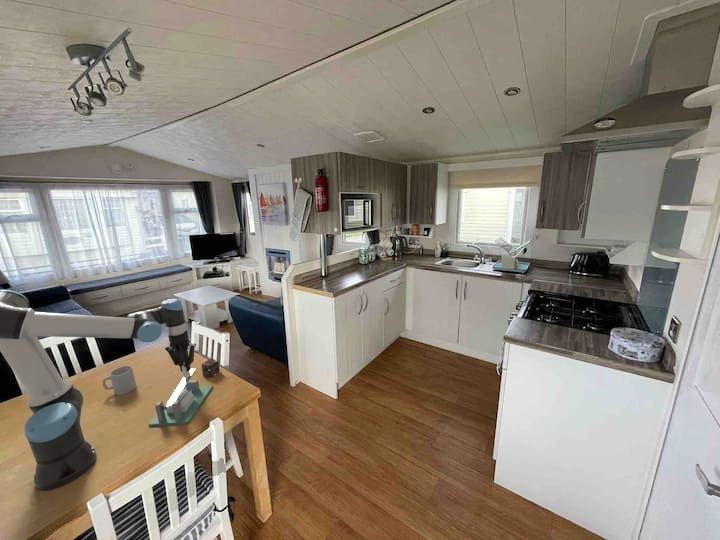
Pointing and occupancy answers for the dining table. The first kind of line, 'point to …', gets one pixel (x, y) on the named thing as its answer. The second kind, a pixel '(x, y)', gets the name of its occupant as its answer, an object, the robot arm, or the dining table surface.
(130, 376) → the mug
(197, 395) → the heatsink board
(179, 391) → the strap
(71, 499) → the dining table surface
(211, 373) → the box
